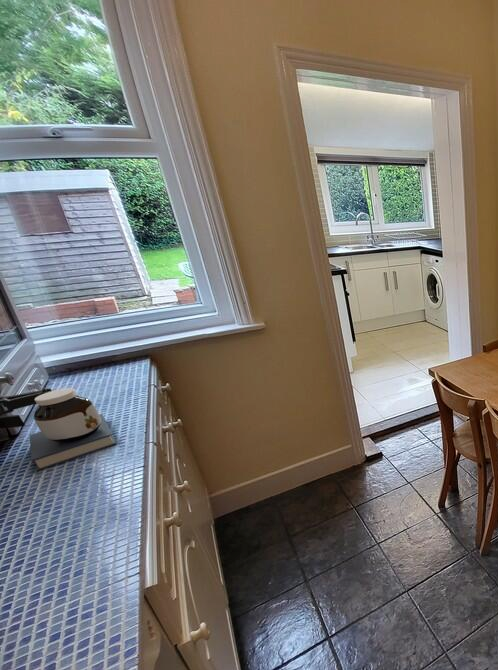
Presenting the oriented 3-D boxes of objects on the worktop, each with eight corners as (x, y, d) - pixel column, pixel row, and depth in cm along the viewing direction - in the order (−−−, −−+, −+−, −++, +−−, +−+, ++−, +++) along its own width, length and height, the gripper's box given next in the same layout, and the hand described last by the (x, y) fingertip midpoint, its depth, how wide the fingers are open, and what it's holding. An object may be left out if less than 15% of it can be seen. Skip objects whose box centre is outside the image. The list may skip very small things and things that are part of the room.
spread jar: (71, 446, 99) (45, 403, 94) (29, 446, 100) (2, 404, 95) (118, 421, 109) (97, 381, 105) (80, 421, 110) (58, 382, 106)
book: (35, 445, 106) (29, 435, 105) (107, 423, 116) (102, 413, 114) (38, 470, 95) (30, 460, 94) (116, 444, 104) (111, 434, 103)
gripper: (14, 405, 112) (96, 398, 113) (-101, 457, 89) (4, 448, 91) (-2, 380, 109) (83, 373, 110) (-125, 428, 86) (-16, 418, 88)
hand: (48, 407), depth 100 cm, fingers open, 13 cm apart
